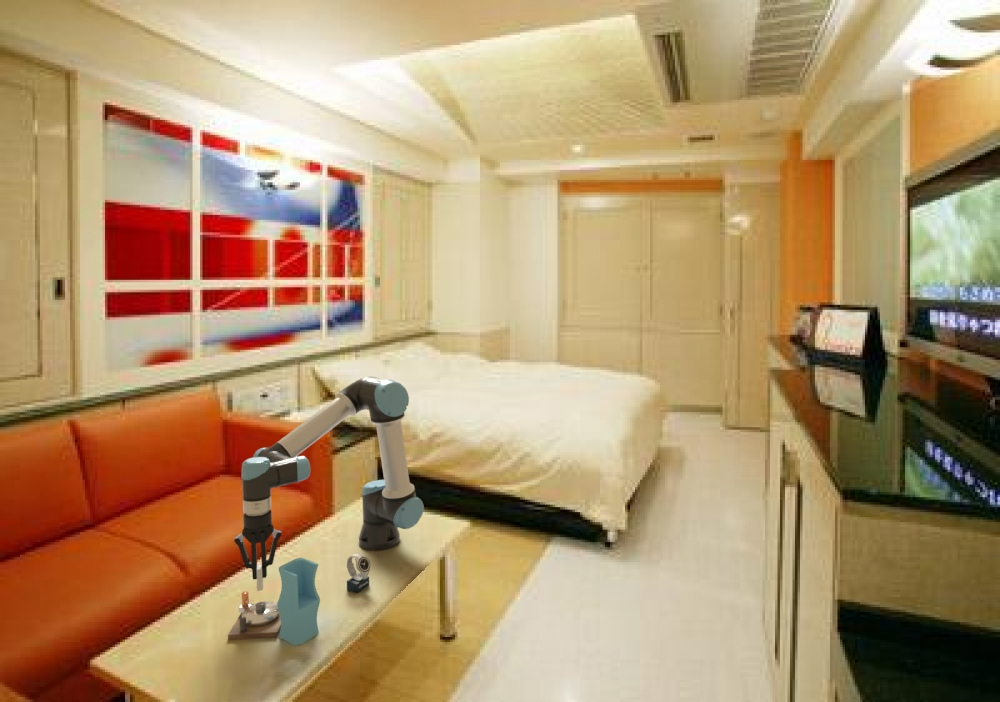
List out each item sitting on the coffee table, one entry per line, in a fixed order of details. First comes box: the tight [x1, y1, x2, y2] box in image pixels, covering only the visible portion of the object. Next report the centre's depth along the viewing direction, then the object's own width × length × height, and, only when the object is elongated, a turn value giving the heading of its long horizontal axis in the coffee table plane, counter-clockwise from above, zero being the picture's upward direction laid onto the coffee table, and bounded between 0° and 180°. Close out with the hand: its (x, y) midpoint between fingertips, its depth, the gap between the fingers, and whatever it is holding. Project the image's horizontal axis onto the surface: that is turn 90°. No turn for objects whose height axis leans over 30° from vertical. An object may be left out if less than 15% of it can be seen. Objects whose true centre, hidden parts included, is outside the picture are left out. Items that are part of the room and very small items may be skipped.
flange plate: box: [237, 591, 280, 626], centre depth 163 cm, size 12×10×6 cm
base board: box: [227, 603, 281, 641], centre depth 163 cm, size 15×13×5 cm
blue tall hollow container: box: [276, 557, 321, 646], centre depth 156 cm, size 8×8×20 cm
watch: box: [346, 552, 372, 595], centre depth 181 cm, size 6×8×11 cm
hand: (260, 588), depth 167 cm, fingers closed
